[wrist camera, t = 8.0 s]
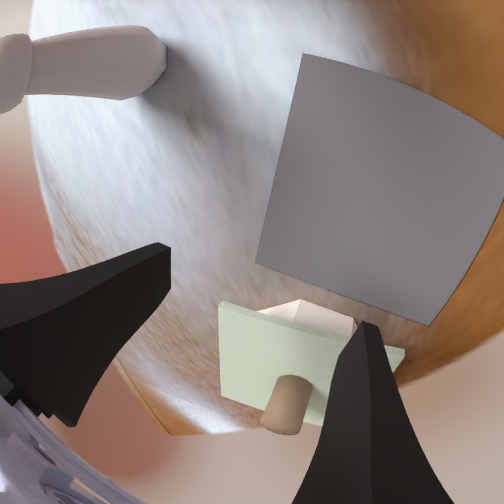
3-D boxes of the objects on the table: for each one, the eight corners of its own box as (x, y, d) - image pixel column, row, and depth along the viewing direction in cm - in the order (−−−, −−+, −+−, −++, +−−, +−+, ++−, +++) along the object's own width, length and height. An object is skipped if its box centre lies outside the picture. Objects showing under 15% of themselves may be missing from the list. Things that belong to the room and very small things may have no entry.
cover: (404, 349, 15) (405, 407, 12) (344, 425, 22) (334, 464, 18) (222, 300, 19) (188, 348, 15) (223, 391, 26) (204, 426, 22)
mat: (517, 150, 10) (519, 151, 9) (428, 323, 18) (428, 326, 18) (303, 54, 13) (302, 53, 12) (256, 260, 21) (254, 262, 21)
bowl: (387, 329, 20) (387, 367, 16) (335, 392, 26) (328, 423, 23) (262, 284, 22) (244, 317, 19) (241, 358, 28) (226, 387, 25)
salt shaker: (192, 56, 15) (7, 53, 4) (146, 112, 18) (-14, 158, 7) (150, 17, 13) (-7, 9, 3) (112, 70, 17) (-31, 96, 6)
